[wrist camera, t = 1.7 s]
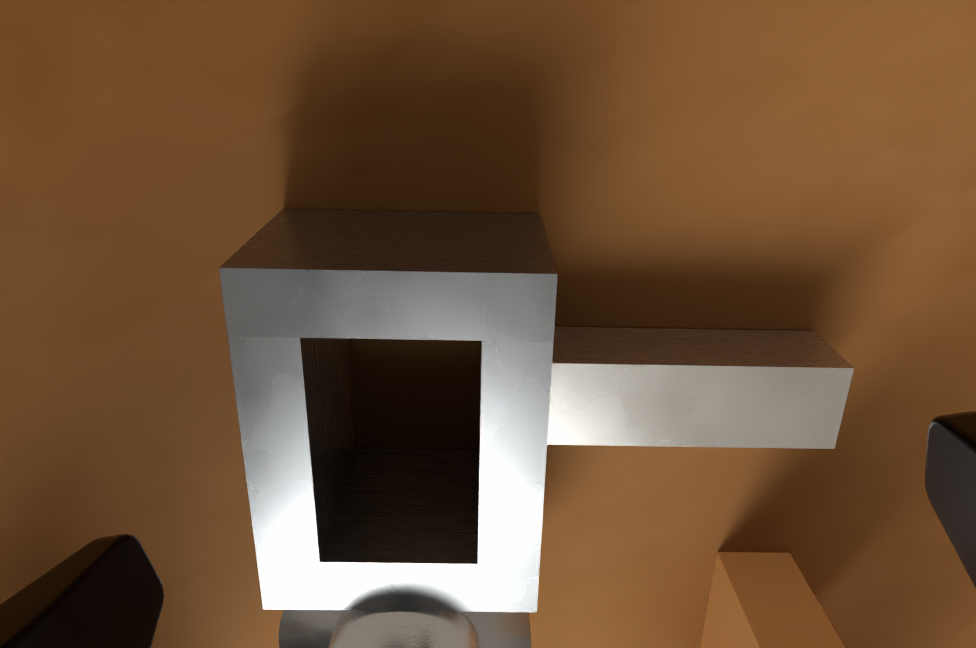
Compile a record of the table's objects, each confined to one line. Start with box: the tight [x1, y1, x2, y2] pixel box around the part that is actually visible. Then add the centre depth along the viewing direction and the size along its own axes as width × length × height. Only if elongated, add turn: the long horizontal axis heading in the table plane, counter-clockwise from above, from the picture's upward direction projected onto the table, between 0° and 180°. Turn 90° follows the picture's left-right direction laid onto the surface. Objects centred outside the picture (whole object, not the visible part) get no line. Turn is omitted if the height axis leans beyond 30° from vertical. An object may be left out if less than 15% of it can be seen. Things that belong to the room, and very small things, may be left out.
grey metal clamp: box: [219, 209, 854, 648], centre depth 19 cm, size 14×15×6 cm
